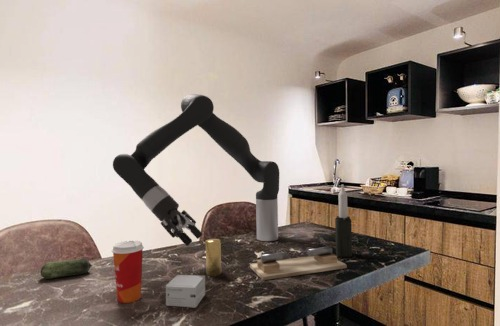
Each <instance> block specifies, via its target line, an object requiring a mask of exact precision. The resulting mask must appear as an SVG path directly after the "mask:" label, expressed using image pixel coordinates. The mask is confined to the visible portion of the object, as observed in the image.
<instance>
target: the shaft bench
mask: <svg viewBox="0 0 500 326" xmlns="http://www.w3.org/2000/svg"><path fill="white" fill-rule="evenodd" d="M347 266H348V265H347V264H346V263H344V262H342V261H340V259H339V260H338V256H337V255H335V254H334V253H332V254H327V255H319V256H312V257H309V256H308V255H307V256H302V257H301V256H300V257H295V258H287V260H281V261H273V262H265V263H262V262H261V259H257V260H256V262H255V263H254V262H253V263H249V267H250V269H251V270H252V271H253V272H254V273H255V274H256V275H257V276H258V277H259V278H260V279H261V280H262V281H267V280H273V279H274V280H275V279H281V278H287V277H293V276H294V277H295V276H300V275H301V276H302V275H307V274H308V275H309V274H315V273H321V272H330V271H334V270H342V269H347V268H348V267H347Z"/></svg>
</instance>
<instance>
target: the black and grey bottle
mask: <svg viewBox="0 0 500 326" xmlns="http://www.w3.org/2000/svg"><path fill="white" fill-rule="evenodd" d="M334 223H335V225H334V227H335V231H334V232H335V233H334V234H335V254H336V256H337V257H340V258H343V257H345V258H346V257H347V258H348V257H349V258H351V257H352V256H353V247H352V245H353V244H352V241H353V239H352V237H353V236H352V235H353V234H352V233H353V232H352V231H353V229H352V219H351V217H350V216H349V215H348V193H347V192H346V188H345V185H344V184H341V188H340V191H339V193H338V215H336V217H335V218H334Z"/></svg>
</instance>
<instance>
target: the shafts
mask: <svg viewBox="0 0 500 326" xmlns="http://www.w3.org/2000/svg"><path fill="white" fill-rule="evenodd" d="M327 254H333V248H332V246H322V247H315V248H308V249H307V250H306V255H307V257H308V256H309V257H312V256H319V255H327ZM287 259H289V257H288V253H287V251H283V252H281V251H280V252H274V253H265V254H260V260H261V262H262V263H265V262H273V261H281V260H287Z"/></svg>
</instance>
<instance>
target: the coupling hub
mask: <svg viewBox="0 0 500 326" xmlns="http://www.w3.org/2000/svg"><path fill="white" fill-rule="evenodd" d="M221 243H222V241H221V239H219V238H209V239H206V240H205V267H206V268H205V270H206V271H205V274H206V275H207V276H210V277H215V276H220V275H221V274H222V250H221V249H222V248H221V246H222V245H221Z"/></svg>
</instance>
